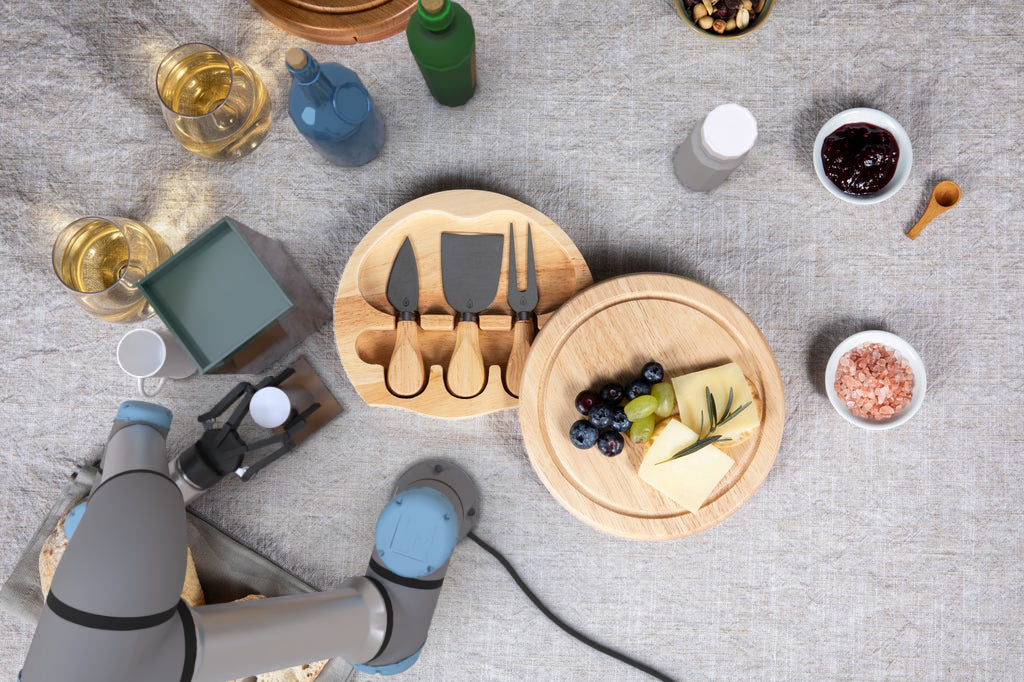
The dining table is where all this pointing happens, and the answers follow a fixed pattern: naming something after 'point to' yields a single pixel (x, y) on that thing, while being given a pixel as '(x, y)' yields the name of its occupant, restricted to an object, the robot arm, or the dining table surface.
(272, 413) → the can
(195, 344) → the teal boxy piece
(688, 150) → the jar
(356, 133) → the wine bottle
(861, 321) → the dining table surface
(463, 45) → the bottle
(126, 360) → the mug
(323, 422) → the brown coaster
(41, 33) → the dining table surface
